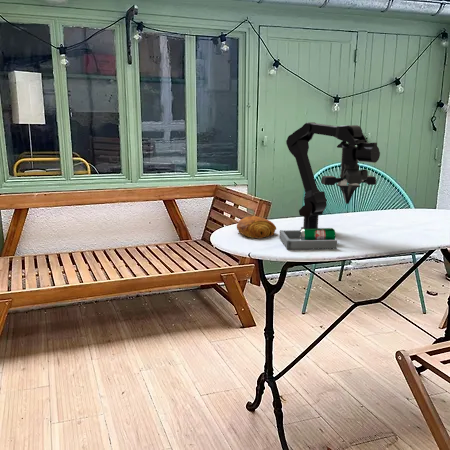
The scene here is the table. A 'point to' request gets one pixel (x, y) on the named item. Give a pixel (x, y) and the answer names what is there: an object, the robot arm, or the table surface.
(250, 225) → the croissant
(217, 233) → the table surface
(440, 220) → the table surface
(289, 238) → the tray
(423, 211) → the table surface
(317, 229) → the soda can
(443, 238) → the table surface
